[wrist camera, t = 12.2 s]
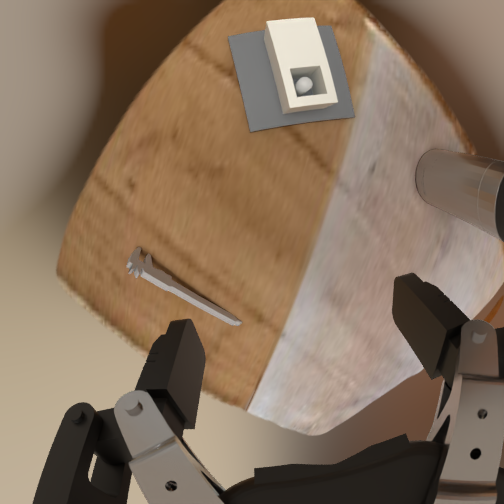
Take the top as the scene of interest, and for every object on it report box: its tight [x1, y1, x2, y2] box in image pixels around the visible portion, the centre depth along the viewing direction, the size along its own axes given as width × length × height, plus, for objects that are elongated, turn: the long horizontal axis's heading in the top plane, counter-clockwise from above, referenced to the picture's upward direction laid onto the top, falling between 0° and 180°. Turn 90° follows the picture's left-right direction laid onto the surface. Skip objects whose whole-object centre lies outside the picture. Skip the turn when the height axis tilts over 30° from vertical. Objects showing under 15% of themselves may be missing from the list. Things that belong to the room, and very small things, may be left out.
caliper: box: [127, 247, 242, 326], centre depth 39 cm, size 20×1×6 cm, turn 49°
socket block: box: [264, 18, 338, 114], centre depth 26 cm, size 5×11×6 cm, turn 12°
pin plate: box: [228, 26, 355, 132], centre depth 27 cm, size 14×14×6 cm
